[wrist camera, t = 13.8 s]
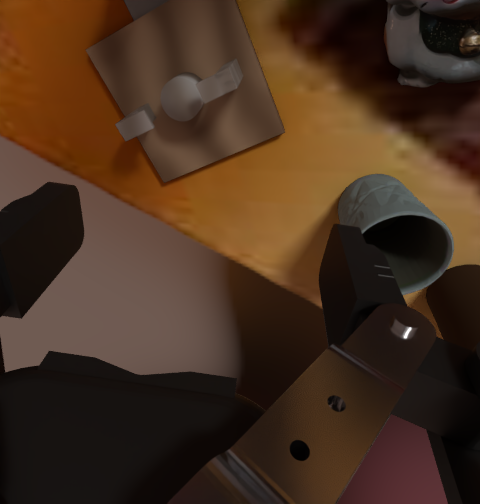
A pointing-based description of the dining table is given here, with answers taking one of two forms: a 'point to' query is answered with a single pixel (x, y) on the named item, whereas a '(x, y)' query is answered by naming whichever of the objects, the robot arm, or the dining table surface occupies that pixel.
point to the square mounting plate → (188, 84)
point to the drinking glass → (398, 229)
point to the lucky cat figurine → (434, 40)
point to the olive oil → (457, 305)
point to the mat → (142, 7)
